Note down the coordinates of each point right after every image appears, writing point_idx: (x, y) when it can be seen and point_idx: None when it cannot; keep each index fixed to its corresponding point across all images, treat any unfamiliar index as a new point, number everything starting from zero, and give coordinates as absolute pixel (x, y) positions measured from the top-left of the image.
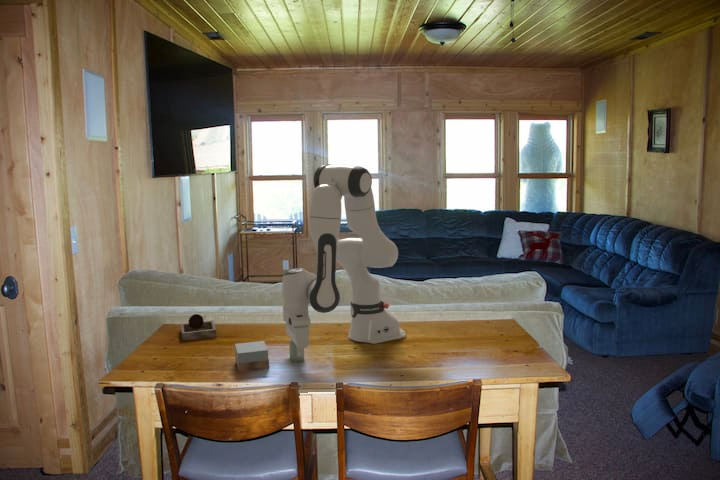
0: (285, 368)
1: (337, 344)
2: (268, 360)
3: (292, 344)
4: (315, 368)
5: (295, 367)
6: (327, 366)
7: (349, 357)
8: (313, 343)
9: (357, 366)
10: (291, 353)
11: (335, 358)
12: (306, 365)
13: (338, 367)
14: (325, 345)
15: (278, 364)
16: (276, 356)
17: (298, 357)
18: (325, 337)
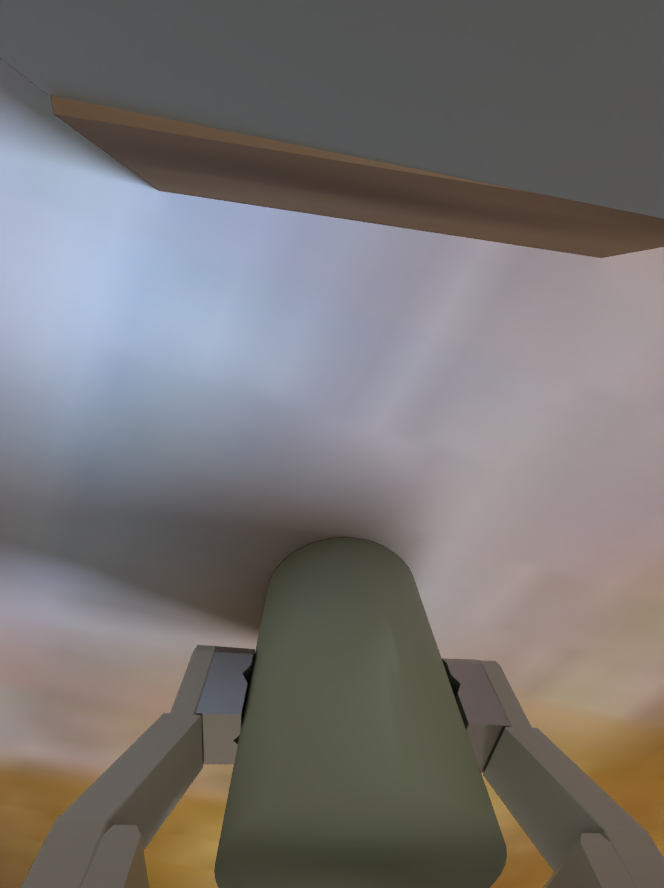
0: (96, 415)
1: None
2: (63, 109)
3: (296, 815)
4: (23, 662)
5: (99, 523)
6: (53, 737)
7: (197, 858)
8: (614, 776)
9: (8, 855)
10: (308, 617)
11: (214, 806)
12: (127, 622)
13: (12, 782)
14: (510, 816)
15: (271, 376)
16: (555, 437)
17: (259, 632)
18: (656, 845)
